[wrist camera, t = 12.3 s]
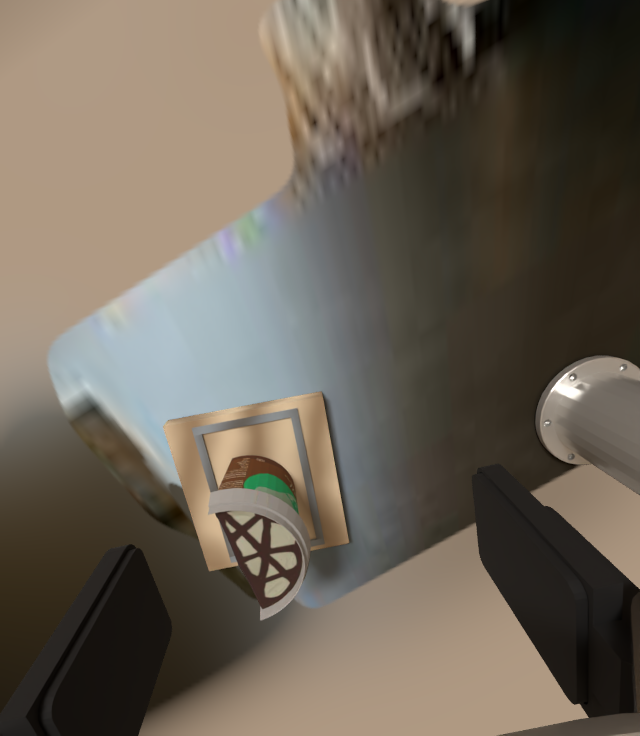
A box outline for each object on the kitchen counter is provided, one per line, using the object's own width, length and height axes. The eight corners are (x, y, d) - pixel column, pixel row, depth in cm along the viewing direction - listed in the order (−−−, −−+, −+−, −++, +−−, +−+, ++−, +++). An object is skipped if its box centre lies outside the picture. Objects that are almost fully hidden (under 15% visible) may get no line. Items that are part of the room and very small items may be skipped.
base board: (321, 391, 38) (322, 396, 37) (347, 533, 43) (349, 544, 42) (167, 420, 38) (162, 427, 36) (211, 560, 43) (208, 572, 41)
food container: (321, 522, 41) (331, 602, 31) (268, 540, 41) (262, 625, 31) (284, 426, 37) (282, 482, 28) (226, 445, 37) (204, 508, 28)
